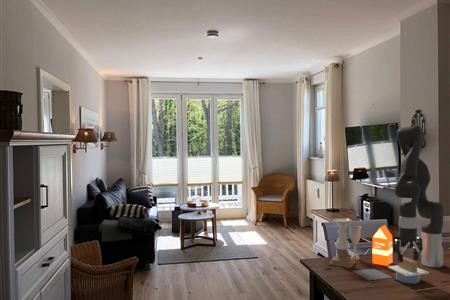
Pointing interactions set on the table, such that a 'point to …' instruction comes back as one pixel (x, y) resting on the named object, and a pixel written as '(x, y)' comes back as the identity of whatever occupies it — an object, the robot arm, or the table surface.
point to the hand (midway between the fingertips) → (408, 261)
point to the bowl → (408, 278)
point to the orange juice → (382, 247)
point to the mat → (372, 274)
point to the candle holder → (342, 245)
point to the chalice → (355, 238)
